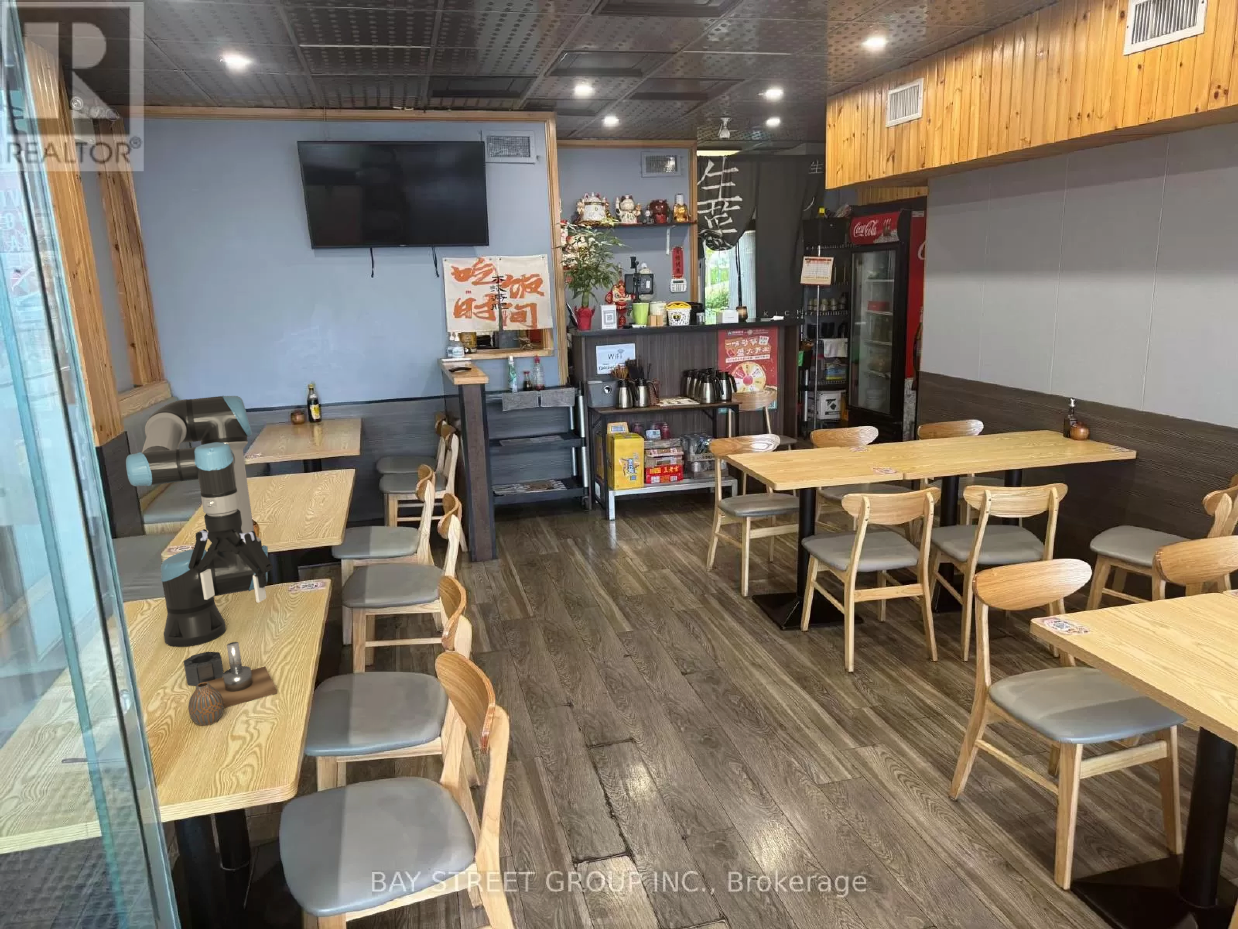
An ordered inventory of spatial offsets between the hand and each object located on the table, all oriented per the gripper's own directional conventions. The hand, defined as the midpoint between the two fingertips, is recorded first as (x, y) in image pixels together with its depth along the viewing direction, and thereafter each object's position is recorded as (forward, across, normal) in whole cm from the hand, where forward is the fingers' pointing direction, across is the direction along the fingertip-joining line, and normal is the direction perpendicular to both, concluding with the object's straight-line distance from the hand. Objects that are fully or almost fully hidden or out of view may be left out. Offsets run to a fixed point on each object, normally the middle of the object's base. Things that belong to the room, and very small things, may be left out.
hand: (235, 598), depth 194 cm
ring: (+22, -13, +2) cm, 25 cm away
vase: (+22, +2, -17) cm, 28 cm away
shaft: (+21, 0, -3) cm, 21 cm away
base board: (+22, 0, -3) cm, 22 cm away
